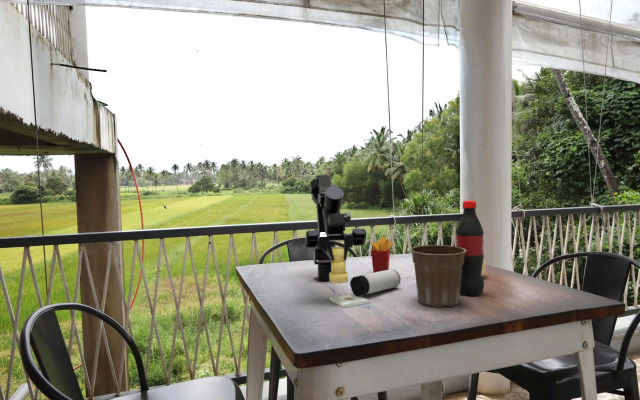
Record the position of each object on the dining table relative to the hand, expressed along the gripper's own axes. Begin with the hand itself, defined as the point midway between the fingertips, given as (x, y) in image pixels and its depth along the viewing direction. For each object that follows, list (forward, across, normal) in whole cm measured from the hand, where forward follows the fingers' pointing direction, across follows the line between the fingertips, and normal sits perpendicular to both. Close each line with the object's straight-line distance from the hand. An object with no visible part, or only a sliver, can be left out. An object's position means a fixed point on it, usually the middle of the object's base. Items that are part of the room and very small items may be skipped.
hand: (339, 260), depth 126 cm
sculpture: (-8, +54, +27) cm, 61 cm away
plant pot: (+12, +30, +7) cm, 33 cm away
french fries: (-16, +24, +36) cm, 46 cm away
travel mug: (-4, +22, +19) cm, 29 cm away
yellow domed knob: (+4, 0, +6) cm, 7 cm away
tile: (+8, +3, +11) cm, 14 cm away
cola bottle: (+7, +43, +12) cm, 45 cm away
